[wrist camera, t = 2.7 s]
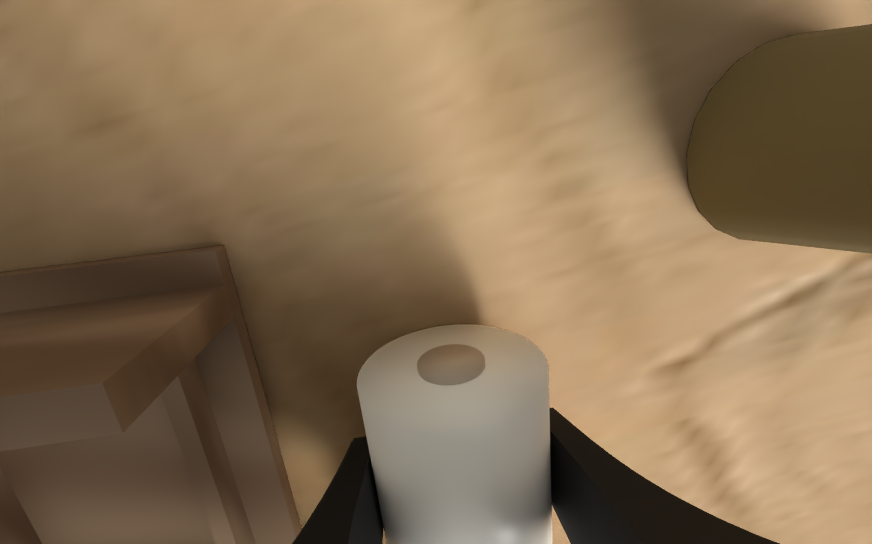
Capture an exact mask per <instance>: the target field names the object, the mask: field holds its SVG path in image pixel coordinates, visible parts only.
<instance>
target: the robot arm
mask: <svg viewBox="0 0 872 544" xmlns="http://www.w3.org/2000/svg"><path fill="white" fill-rule="evenodd" d="M549 411H550V457H551V503H552V506H553V508H554V510H555V512H556V514H557V516H558V518H559V520H560V522H561V524H562V526H563V528H564V530H565V532H566V535H567V537H568V539H569V541H570V543H571V544H779V543H777V542H774V541H771V540H769V539H766V538H763V537H761V536H758V535H756V534H753V533H751V532H749V531H746V530H744V529H742V528H739V527H737V526H735V525H733V524H730V523H728V522H726V521H724V520H722V519H719V518H717V517H715V516H713V515H711V514H709V513H707V512H705V511H703V510H701V509H699V508H697V507H695V506H693V505H691V504H689V503H687V502H685V501H683V500H681V499H680V498H678V497H676V496H674V495H672V494H671V493H669V492H667V491H665V490H664V489H662V488H660V487H659V486H657V485H655V484H654V483H652V482H650V481H649V480H647V479H645V478H644V477H642V476H641V475H639V474H638V473H636V472H635V471H633V470H632V469H630V468H629V467H627V466H626V465H624V464H623V463H622V462H620V461H619V460H617V459H616V458H614V457H613V456H612V455H610V454H609V453H608V452H606V451H605V450H604V449H603V448H601V447H600V446H599V445H597V444H596V443H595V442H594V441H592V440H591V439H590V438H589V437H587V436H586V435H585V434H584V433H582V432H581V431H580V430H579V429H578V428H576V427H575V426H574V425H573V424H572V423H570V422H569V421H568V420H567V419H566V418H564V417H563V416H562V415H561V414H560V413H559V412H557V411H556V410H555V409H554V408H549ZM383 528H384V526H383V521H382V516H381V510H380V505H379V500H378V495H377V489H376V484H375V479H374V474H373V469H372V463H371V458H370V453H369V448H368V442H367V437H360V438H354V439H353V441H352V442H351V444H350V446H349V448H348V450H347V453H346V455H345V457H344V459H343V461H342V463H341V465H340V467H339V469H338V471H337V472H336V474H335V476H334V478H333V480H332V482H331V483H330V485H329V487H328V489H327V490H326V492H325V494H324V496H323V497H322V499H321V501H320V502H319V504H318V505H317V507H316V509H315V510H314V512H313V513H312V515H311V517H310V518H309V520H308V521H307V523H306V524H305V526H304V527H303V529H302V530H301V532H300V533H299V534H298V536H297V537H296V539H295V540H294V541H293V543H292V544H382V539H383Z"/></svg>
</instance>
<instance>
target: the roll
mask: <svg viewBox="0 0 872 544" xmlns="http://www.w3.org/2000/svg"><path fill="white" fill-rule="evenodd" d="M357 390H358V395H359V401H360V406H361V411H362V416H363V422H364V427H365V432H366V437H367V442H368V448H369V453H370V458H371V463H372V469H373V474H374V479H375V484H376V489H377V495H378V500H379V505H380V510H381V516H382V521H383V526H384V531H385V537H386V542H387V544H552V503H551V457H550V411H549V369H548V363H547V359H546V357H545V356H544V354H543V352H542V351H541V350H540V349H539V348H538V347H537V346H536V345H535V344H534V343H533V342H531V341H530V340H528V339H527V338H525V337H523V336H521V335H519V334H517V333H514V332H511V331H508V330H505V329H501V328H497V327H492V326H485V325H474V324H457V325H445V326H437V327H431V328H427V329H423V330H419V331H415V332H412V333H409V334H407V335H404V336H401V337H399V338H397V339H395V340H393V341H391V342H389V343H387V344H386V345H384V346H382V347H381V348H379V349H378V350H377V351H376V352H374V353H373V354H372V355H371V356H370V357H369V358H368V359H367V360H366V362H365V363H364V364H363V366H362V367H361V369H360V371H359V374H358V377H357Z"/></svg>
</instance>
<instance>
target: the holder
mask: <svg viewBox="0 0 872 544" xmlns="http://www.w3.org/2000/svg"><path fill="white" fill-rule="evenodd" d="M301 530H302V528H301V525H300V521H299V517H298V514H297V510H296V507H295V503H294V499H293V496H292V492H291V488H290V485H289V481H288V477H287V474H286V470H285V466H284V463H283V459H282V455H281V452H280V448H279V445H278V441H277V437H276V434H275V430H274V426H273V423H272V419H271V415H270V412H269V408H268V404H267V401H266V397H265V393H264V390H263V386H262V383H261V379H260V375H259V372H258V368H257V364H256V361H255V357H254V353H253V350H252V346H251V342H250V339H249V335H248V331H247V328H246V324H245V321H244V317H243V313H242V310H241V306H240V302H239V299H238V295H237V291H236V288H235V284H234V280H233V277H232V273H231V269H230V266H229V262H228V259H227V255H226V251H225V248H224V245H221V246H213V247H205V248H197V249H189V250H180V251H172V252H164V253H156V254H148V255H139V256H131V257H123V258H115V259H107V260H99V261H90V262H82V263H74V264H66V265H58V266H49V267H41V268H33V269H25V270H17V271H8V272H0V544H292V543H293V541H294V540H295V539H296V537H297V536H298V534H299V533H300V532H301Z"/></svg>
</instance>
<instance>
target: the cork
mask: <svg viewBox="0 0 872 544" xmlns="http://www.w3.org/2000/svg"><path fill="white" fill-rule="evenodd" d="M687 172H688V186H689V189H690V191H691V193H692V196H693V198H694V201H695V203H696V206H697V208H698V211H699V212H700V213H701V214H702V215H703V216H704V217H705V218H706V219H707V220H708V221H709V222H710V223H711V224H712V225H713V226H714V227H715V229H717V230H719V231H721V232H724V233H726V234H728V235H731V236H733V237H735V238H738V239H743V240H752V241H761V242H771V243H780V244H789V245H798V246H808V247H817V248H826V249H835V250H845V251H854V252H863V253H872V24H870V25H862V26H855V27H847V28H839V29H832V30H824V31H817V32H809V33H801V34H796V35H792V36H788V37H785V38H781V39H777V40H774V41H770V42H766V43H764V44H763V45H761V46H760V47H758V48H757V49H755V50H754V51H752V52H750V53H749V54H747V55H746V56H744V57H743V58H741V59H740V60H738V61H737V62H735V63H734V65H733V66H732V67H731V68H730V69H729V70H728V71H727V72H726V73H725V75H724V76H723V77H722V78H721V79H720V80H719V81H718V82H717V83H716V85H715V86H714V87H713V88H712V89H711V91H710V93H709V94H708V96H707V98H706V100H705V102H704V104H703V106H702V108H701V110H700V112H699V114H698V115H697V117H696V119H695V121H694V125H693V129H692V133H691V138H690V142H689V146H688V151H687Z"/></svg>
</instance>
